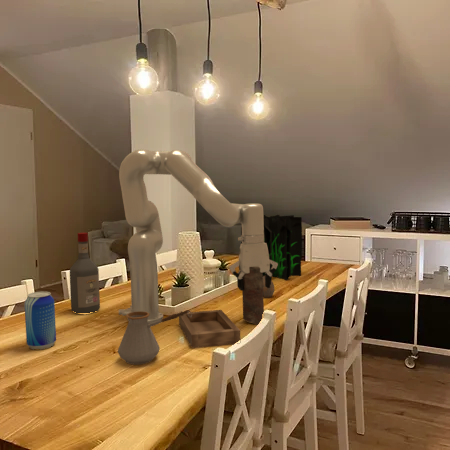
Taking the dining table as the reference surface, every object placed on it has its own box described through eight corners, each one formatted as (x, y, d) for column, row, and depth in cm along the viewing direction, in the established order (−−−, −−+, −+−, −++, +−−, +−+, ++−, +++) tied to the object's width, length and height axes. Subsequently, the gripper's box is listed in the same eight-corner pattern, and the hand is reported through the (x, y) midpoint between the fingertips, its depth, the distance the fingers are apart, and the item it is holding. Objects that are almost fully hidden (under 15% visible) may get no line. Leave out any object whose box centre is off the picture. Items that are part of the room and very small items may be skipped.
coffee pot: (110, 365, 131) (108, 311, 130) (129, 350, 143) (127, 300, 141) (185, 372, 126) (184, 316, 125) (198, 356, 137) (197, 304, 136)
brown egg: (273, 299, 200) (273, 278, 199) (256, 298, 202) (256, 277, 201) (275, 295, 207) (275, 274, 206) (259, 294, 208) (259, 274, 207)
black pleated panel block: (308, 273, 253) (309, 215, 250) (283, 284, 228) (283, 220, 225) (260, 268, 268) (259, 213, 265) (231, 277, 243) (231, 218, 240)
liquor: (102, 310, 185) (99, 232, 182) (81, 316, 179) (78, 235, 176) (89, 306, 192) (86, 231, 189) (68, 311, 185) (65, 233, 182)
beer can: (38, 352, 142) (36, 298, 140) (20, 347, 146) (17, 295, 145) (62, 343, 149) (59, 292, 147) (44, 339, 153) (41, 289, 152)
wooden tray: (191, 348, 144) (191, 334, 143) (178, 324, 167) (178, 313, 167) (240, 343, 148) (240, 330, 147) (221, 320, 171) (221, 309, 170)
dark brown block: (239, 323, 168) (238, 266, 166) (246, 317, 174) (246, 262, 172) (260, 325, 165) (260, 267, 163) (266, 319, 171) (266, 263, 169)
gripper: (231, 242, 161) (233, 293, 163) (280, 239, 165) (281, 288, 167) (225, 239, 168) (227, 288, 170) (273, 236, 172) (274, 284, 174)
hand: (254, 288), depth 168 cm, fingers open, 9 cm apart
